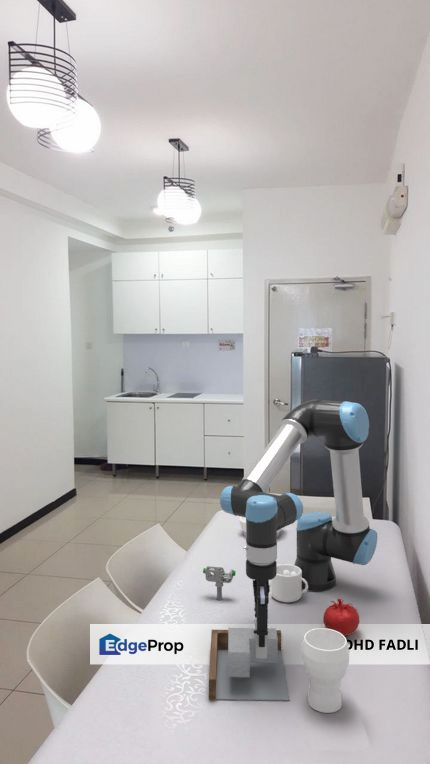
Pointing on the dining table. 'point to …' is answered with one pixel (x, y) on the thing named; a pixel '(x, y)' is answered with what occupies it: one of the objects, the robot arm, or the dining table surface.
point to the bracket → (248, 650)
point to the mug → (288, 583)
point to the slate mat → (252, 681)
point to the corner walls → (217, 643)
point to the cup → (325, 667)
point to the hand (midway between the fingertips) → (260, 650)
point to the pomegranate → (341, 618)
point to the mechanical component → (218, 577)
